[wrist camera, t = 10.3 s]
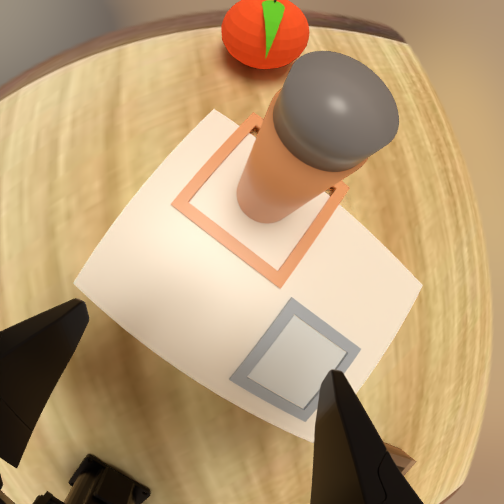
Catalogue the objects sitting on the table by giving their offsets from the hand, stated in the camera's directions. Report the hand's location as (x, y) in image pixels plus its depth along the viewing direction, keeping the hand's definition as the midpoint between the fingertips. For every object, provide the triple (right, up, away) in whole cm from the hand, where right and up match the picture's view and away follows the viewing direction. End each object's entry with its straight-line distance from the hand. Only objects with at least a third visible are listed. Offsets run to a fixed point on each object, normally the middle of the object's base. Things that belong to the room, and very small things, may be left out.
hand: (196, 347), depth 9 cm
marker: (+3, +7, +10) cm, 13 cm away
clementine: (+2, +20, +12) cm, 23 cm away
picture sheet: (+3, +1, +10) cm, 11 cm away
